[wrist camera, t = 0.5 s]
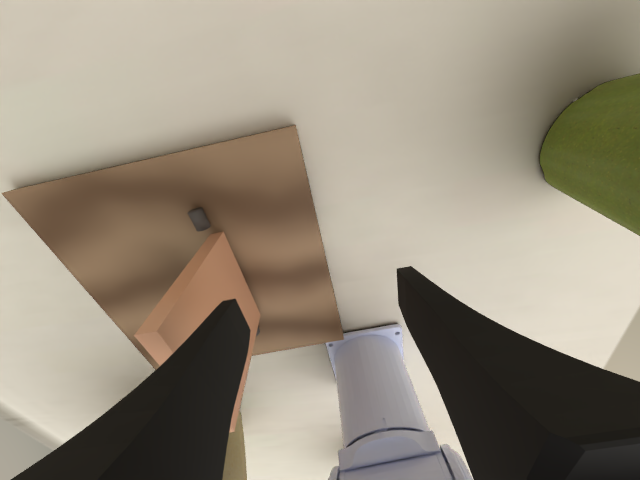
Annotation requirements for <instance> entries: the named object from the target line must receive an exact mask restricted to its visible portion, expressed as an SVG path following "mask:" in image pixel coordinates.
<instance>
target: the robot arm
mask: <svg viewBox="0 0 640 480" xmlns="http://www.w3.org/2000/svg"><path fill="white" fill-rule="evenodd" d="M397 284H398V302H399V307H400V309H401V312H402V315H403V317H404V320H405V323H406V325H407V327H408V329H409V331H410V333H411V335H412V337H413V339H414V341H415V343H416V345H417V347H418V349H419V351H420V353H421V355H422V357H423V359H424V360H425V362H426V364H427V366H428V368H429V370H430V372H431V374H432V376H433V378H434V380H435V383H436V385H437V387H438V389H439V392H440V394H441V397H442V399H443V401H444V404H445V406H446V409H447V411H448V414H449V416H450V419H451V421H452V424H453V426H454V429H455V431H456V434H457V437H458V439H459V442H460V444H461V447H462V450H463V452H464V455H465V457H466V460H467V463H468V465H469V468H470V471H471V473H472V476H473V479H474V480H640V382H638V381H635V380H633V379H630V378H627V377H624V376H621V375H618V374H615V373H612V372H610V371H607V370H604V369H601V368H599V367H596V366H593V365H591V364H588V363H586V362H583V361H581V360H578V359H576V358H573V357H571V356H568V355H566V354H563V353H561V352H558V351H556V350H554V349H551V348H549V347H547V346H544V345H542V344H540V343H538V342H536V341H533V340H531V339H529V338H527V337H525V336H522V335H520V334H518V333H516V332H514V331H512V330H510V329H508V328H506V327H504V326H502V325H500V324H498V323H497V322H495V321H493V320H491V319H489V318H487V317H485V316H484V315H482V314H480V313H478V312H477V311H475V310H473V309H472V308H470V307H468V306H467V305H465V304H463V303H462V302H460V301H459V300H457V299H456V298H454V297H453V296H451V295H450V294H448V293H447V292H445V291H444V290H443V289H441V288H440V287H438V286H437V285H436V284H434V283H433V282H431V281H430V280H429V279H427V278H426V277H425V276H423V275H422V274H421V273H419V272H418V271H417V270H415V269H414V268H413V267H411V266H410V267H404V268H399V269H397ZM250 332H251V330H250V328H249V326H248V324H247V321H246V319H245V317H244V315H243V313H242V311H241V309H240V307H239V305H238V303H237V300H236V299H230V300H225V301H222V302H221V303H220V304H219V305H218V306H217V307H216V308H215V309H214V310H213V311H212V312H211V313H210V315H209V316H208V317H207V318H206V319H205V320H204V321H203V322H202V323H201V324H200V326H199V327H198V328H197V329H196V330H195V331H194V332H193V333H192V334H191V335H190V336H189V337H188V339H187V340H186V341H185V342H184V343H183V344H182V345H181V346H180V347H179V348H178V349H177V350H176V351H175V352H174V353H173V354H172V355H171V356H170V357H169V358H168V359H167V360H166V361H165V362H164V363H163V364H162V365H161V366H160V367H159V368H158V369H157V370H155V371H154V372H153V373H152V374H151V375H150V376H149V377H148V378H147V379H146V380H144V381H143V382H142V383H141V384H140V385H139V386H138V387H136V388H135V389H134V390H133V391H132V392H131V393H129V394H128V395H127V396H126V397H124V398H123V399H122V400H121V401H119V402H118V403H117V404H116V405H114V406H113V407H112V408H111V409H110V410H108V411H107V412H106V413H105V414H103V415H102V416H101V417H99V418H98V419H97V420H96V421H94V422H93V423H92V424H90V425H89V426H88V427H86V428H85V429H84V430H82V431H81V432H79V433H78V434H77V435H75V436H74V437H73V438H71V439H70V440H68V441H67V442H66V443H64V444H63V445H61V446H60V447H59V448H57V449H56V450H54V451H53V452H51V453H50V454H49V455H47V456H46V457H44V458H43V459H41V460H40V461H38V462H37V463H35V464H34V465H32V466H31V467H29V468H28V469H26V470H25V471H23V472H22V473H20V474H19V475H17V476H16V477H14V478H13V479H11V480H222V479H223V471H224V464H225V457H226V450H227V443H228V437H229V431H230V425H231V419H232V414H233V410H234V405H235V402H236V398H237V394H238V390H239V386H240V382H241V378H242V375H243V371H244V367H245V363H246V359H247V354H248V349H249V341H250ZM343 336H344V340H339V341H333V342H327V343H326V347H327V350H328V354H329V357H330V361H331V364H332V368H333V371H334V374H335V378H336V381H337V389H338V399H339V408H340V417H341V427H342V436H343V446H344V449H341V450H339V451H338V456H339V466H335V467H333V469H332V471H331V473H330V476H329V479H328V480H473V479H472V477H471V475H470V473H469V471H468V469H467V467H466V465H465V463H464V461H463V460H462V458H461V456H460V455H459V454H458V453H457V452H456V451H454V450H453V449H451V448H450V446H449V445H448V444H444V445H440V448H439V445H438V443H437V440H436V438H435V435H434V432H433V431H430V429H429V427H428V424H427V421H426V419H425V416H424V414H423V411H422V408H421V406H420V403H419V400H418V398H417V395H416V392H415V390H414V387H413V384H412V382H411V379H410V376H409V374H408V371H407V368H406V366H405V363H404V358H403V340H402V328H401V326H400V325H399V324H394V325H388V326H382V327H377V328H371V329H365V330H360V331H354V332H348V333H343ZM330 343H331V344H330ZM440 450H441V451H440Z"/></svg>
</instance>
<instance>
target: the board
mask: <svg viewBox="0 0 640 480" xmlns="http://www.w3.org/2000/svg"><path fill="white" fill-rule="evenodd" d="M2 194H3V196H4V197H5V198H6V199H7V200H8V201H9V202H10V204H11V205H12V206H13V207H14V208H15V209H16V210H17V212H18V213H19V214H20V215H21V216H22V217H23V218H24V220H25V221H26V222H27V223H28V224H29V225H30V227H31V228H32V229H33V230H34V231H35V232H36V233H37V235H38V236H39V237H40V238H41V239H42V240H43V241H44V243H45V244H46V245H47V246H48V247H49V248H50V249H51V251H52V252H53V253H54V254H55V255H56V256H57V257H58V259H59V260H60V261H61V262H62V263H63V264H64V265H65V267H66V268H67V269H68V270H69V271H70V272H71V273H72V275H73V276H74V277H75V278H76V279H77V280H78V281H79V283H80V284H81V285H82V286H83V287H84V288H85V289H86V291H87V292H88V293H89V294H90V295H91V296H92V297H93V299H94V300H95V301H96V302H97V303H98V304H99V305H100V307H101V308H102V309H103V310H104V311H105V312H106V313H107V315H108V316H109V317H110V318H111V319H112V320H113V322H114V323H115V324H116V325H117V326H118V327H119V328H120V330H121V331H122V332H123V333H124V334H125V335H126V336H127V338H128V339H129V340H130V341H131V342H132V343H133V344H134V346H135V347H136V348H137V349H138V350H139V351H140V352H141V354H142V355H143V356H144V357H145V358H146V359H147V360H148V362H149V363H150V364H151V365H152V366H153V367H154V368H155V370H157V369H158V368H159V367H160V366H159V364H158V363H157V362H156V361H155V360H154V359H153V357H152V356H151V355H150V354H149V353H148V351H147V350H146V349H145V348H144V347H143V346H142V344H141V343H140V342H139V341H138V340H137V339H136V337H135V336H134V335H135V333H136V332H137V331H138V329H139V328H140V327H141V325H142V324H143V323H144V321H145V320H146V319H147V317H148V316H149V315H150V313H151V312H152V311H153V309H154V308H155V307H156V305H157V304H158V303H159V301H160V300H161V299H162V297H163V296H164V295H165V294H166V292H167V291H168V290H169V288H170V287H171V286H172V284H173V283H174V282H175V280H176V279H177V278H178V276H179V275H180V274H181V272H182V271H183V270H184V268H185V267H186V266H187V264H188V263H189V262H190V260H191V259H192V258H193V256H194V255H195V254H196V252H197V251H198V250H199V249H200V247H201V246H202V245H203V243H204V242H205V241H206V239H207V238H208V237H209V235H210V234H214V233H218V232H224V234H225V236H226V238H227V241H228V243H229V245H230V247H231V250H232V252H233V254H234V256H235V259H236V261H237V263H238V265H239V267H240V270H241V272H242V274H243V276H244V279H245V281H246V283H247V285H248V288H249V290H250V292H251V294H252V297H253V299H254V301H255V303H256V306H257V308H258V310H259V312H260V314H261V315H260V320H259V324H258V329H257V333H256V337H255V342H254V346H253V351H252V355H251V356H253V355H259V354H265V353H270V352H276V351H282V350H287V349H293V348H299V347H304V346H310V345H316V344H322V343H327V342H333V341H339V340H344V336H343V331H342V326H341V322H340V317H339V313H338V309H337V304H336V300H335V296H334V291H333V287H332V282H331V278H330V274H329V269H328V265H327V261H326V256H325V252H324V247H323V243H322V239H321V234H320V230H319V225H318V221H317V217H316V212H315V208H314V204H313V199H312V195H311V190H310V186H309V182H308V177H307V173H306V169H305V164H304V160H303V155H302V151H301V147H300V142H299V138H298V134H297V129H296V125H294V126H289V127H285V128H281V129H276V130H272V131H267V132H263V133H259V134H254V135H250V136H246V137H241V138H237V139H232V140H228V141H224V142H219V143H215V144H211V145H206V146H202V147H197V148H193V149H189V150H184V151H180V152H176V153H171V154H167V155H162V156H158V157H154V158H149V159H145V160H141V161H136V162H132V163H128V164H123V165H119V166H114V167H110V168H106V169H101V170H97V171H93V172H88V173H84V174H79V175H75V176H71V177H66V178H62V179H58V180H53V181H49V182H44V183H40V184H36V185H31V186H27V187H23V188H18V189H14V190H11V191H7V192H4V193H2Z"/></svg>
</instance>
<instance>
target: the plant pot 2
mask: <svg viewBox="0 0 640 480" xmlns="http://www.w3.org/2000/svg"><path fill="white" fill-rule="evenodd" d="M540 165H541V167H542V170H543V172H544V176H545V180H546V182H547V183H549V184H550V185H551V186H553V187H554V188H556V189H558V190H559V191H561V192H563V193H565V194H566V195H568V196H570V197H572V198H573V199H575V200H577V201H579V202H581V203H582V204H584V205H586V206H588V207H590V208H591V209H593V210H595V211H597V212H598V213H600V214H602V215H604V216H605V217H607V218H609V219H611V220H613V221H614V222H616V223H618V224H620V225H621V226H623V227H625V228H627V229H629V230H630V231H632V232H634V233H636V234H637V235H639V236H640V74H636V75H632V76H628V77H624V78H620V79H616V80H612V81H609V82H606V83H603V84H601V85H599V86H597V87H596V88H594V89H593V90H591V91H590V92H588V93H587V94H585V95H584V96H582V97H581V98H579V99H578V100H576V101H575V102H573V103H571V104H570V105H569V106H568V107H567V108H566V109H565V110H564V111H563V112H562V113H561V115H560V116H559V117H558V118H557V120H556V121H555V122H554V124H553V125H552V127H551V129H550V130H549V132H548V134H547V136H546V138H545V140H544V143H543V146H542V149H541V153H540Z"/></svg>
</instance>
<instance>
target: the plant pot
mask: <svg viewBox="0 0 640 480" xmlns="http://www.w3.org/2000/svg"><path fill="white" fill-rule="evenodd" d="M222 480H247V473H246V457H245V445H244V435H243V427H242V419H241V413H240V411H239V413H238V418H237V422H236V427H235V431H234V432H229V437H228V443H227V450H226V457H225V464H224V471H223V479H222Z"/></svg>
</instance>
